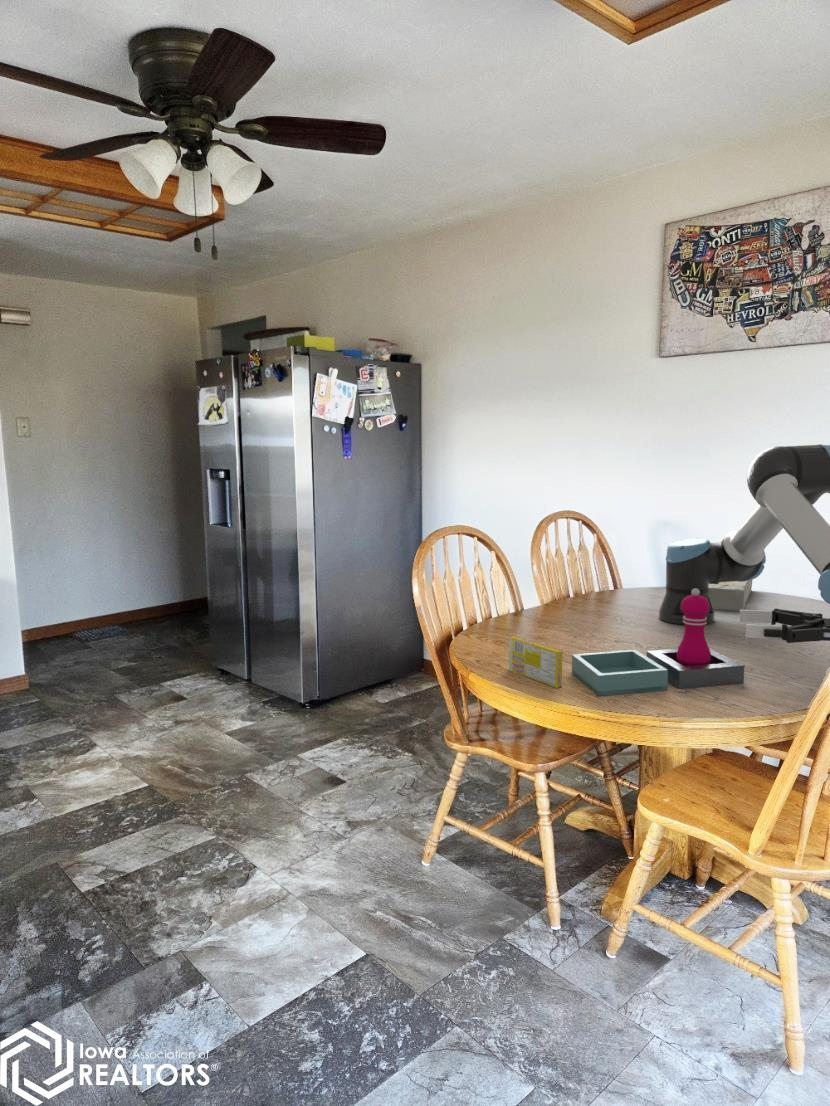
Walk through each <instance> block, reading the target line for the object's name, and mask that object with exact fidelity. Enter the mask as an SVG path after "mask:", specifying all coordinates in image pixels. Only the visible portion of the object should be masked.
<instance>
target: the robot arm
mask: <svg viewBox="0 0 830 1106" xmlns="http://www.w3.org/2000/svg"><path fill="white" fill-rule="evenodd" d="M746 481H747V483H746V484H747V487H748V490H749V493H750V495H751V497H752V498H753V499H754V500H755V502H756V503H757V504H758V505H757V506H756V507H755V509H753V511H751V513H750V515H749V516H747V518H746V519H745V520H744V522H743V523H742V524H741V525H740V527H739V528H738V529H737V530H733V531H730V532H729V533H727V534H726V535H725V537H723V539H722V540H721V541H720V542H710V540H709V539H708V538H705V537H704V538H703V537H695V538H692V537H691V538H683V539H679V540H675V541H673V542H671V543H670V544H669V545H668V546H667V549H666V555H665V556H666V557H665V561H666V565H665V566H666V567H665V568H666V569H665V570H666V573H665V594H664V596H663V600H662V602H661V604H660V608H659V611H658V618H659V620H661V621H663V622H665V623H669V624H674V625H681V626H683V625H684V626H685V623H683V616H685V615H684V613H683V612H682V610H681V603H682V600H683V599H684V598H685V597H687V596H689V595H692V593H691V591H692V590H693V589H694V588H697V589H699V591H700V594H699V595H700V596H703V597H705V598H706V599H707V600H708V602H709V605H710V610H709V612H708V614H707V615H706V616H705V617H707V620H706V622H707V624H712V623H713V622H714V621H715V611H714V609H713V608H712V605H711V601H710V598H709V595H708V587H709V583H715V582H732V581H738V582H743V581H748V580H752V581H753V580H754V579H757V578H758V577H759V576H760V575H761V574H762V573H763V572H764V568H765V565H764V564H766V562H767V561H766V553H765V549H766V548H767V547H768V546H769V544H770V543H771V542H772V541H773V540H774V539H775V538H776V537H777V536H778V534H779V533H781V531H782V530H783V529H784V531H785V532H786V533H787V534H788V536H789V537H790V539H791V540H792V541H793V542H794V543H795V545H796V546H797V548H798V549H799V550H800V551H801V552H802V554H803V555H804V556H805V558H807V560H808V561H809V562H810V563H811V565H812V566H813V567H814V569H815V570H816V571H817V572H818V574H819V575H820V576H819V577H818V581H817V588H818V590H819V591H820V594H819V595H820V596H821V598H822V599H823V601H824V602H826V603H827V604H829V605H830V524H829V523H828V522H827V520H825V518H824V517H823V516H822V515H821V514H820V512H819V511H818V510H817V509H816V508H815V507H814V504H815V503H816V502H817V501H818V500H819V499H820V498H821V497H822V496H823V495H824V494H830V444H813V445H811V444H809V445H807V444H806V445H790V446H788V445H787V446H783V445H781V446H773V447H770V448H767V449H764V450H763V451H761V452H759V454H757V455H756V456H755V458H753V460H752V461H751V463H750V465H749V467H748V469H747V474H746ZM739 622H740V623H746V624H745V638H750V639H751V638H753V639H767V640H768V639H771V640H782V641H785V642H786V643H787V644H793V643H794V644H795V643H806V642H809V643H810V642H822V641H824V642H830V617H829V618H825V617H823V614H822V613H820V612H819V613H812V612H803V611H797V610H796V611H795V610H789V609H780V608H774V609H773V610H759V609H758V610H756V609H743V610H740V611H739ZM751 623H753V624H751ZM707 624H706V625H707ZM777 624H781V625H777Z"/></svg>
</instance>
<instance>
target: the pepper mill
mask: <svg viewBox="0 0 830 1106" xmlns="http://www.w3.org/2000/svg"><path fill="white" fill-rule="evenodd" d="M691 593H692V595H689V596H687V597H685V598H684V599H683V600H682V603H681V610H682V612H683V613H684V615H685V616H683V623H685V625H684V632H683V633H684V634H683V637H682V639H681V641H680V643H679V646H678V648H677V649H678V650H677V659H678V661H679V662H680V663H681V665H683V666H696V665H708V664H709V662H710V661H711V653H710V649H709V648H710V647H709V645H708V643H707V640H706V636H705V627H706V625H707V622H706V620H707V617H705V616H706V615H707V614H708V612H709V610H710V605H709V602H708V600H707V599H706V598H705V597H703V596H700V595H699V594H700V591H699V589H697V588H694V589H693V590H692V591H691Z"/></svg>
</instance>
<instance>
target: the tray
mask: <svg viewBox="0 0 830 1106" xmlns="http://www.w3.org/2000/svg"><path fill="white" fill-rule="evenodd" d="M571 674H572V675H573V676H575V677H576V678H577V679H578V680H579V681H580V682H581V683H583V684H584V685H585V686H586V687H587V688H588V689H590V690H591V691H592V692H593V693H594V694H596V696H598V697H605V696H606V697H607V696H616V695H617V696H619V695H627V694H628V695H629V694H639V693H651V692H653V693H654V692H662V691H663V692H664V691H668V670H667V669H665V668H664V667H662V666H661V665H659V664H657V663H656V662H654V661H653V660H651V659H649V658H648V657H647V655H644V654H643V653H641V652H640V651H638V650H637V649H625V650H611V651H600V652H586V653H574V654H571Z"/></svg>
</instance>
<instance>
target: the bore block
mask: <svg viewBox="0 0 830 1106" xmlns="http://www.w3.org/2000/svg"><path fill="white" fill-rule="evenodd" d="M709 649H710V653H711V661H710V662H709V664H708V665H696V666H683V665H681V663H680V662H679V661H678V659H677V650H678V648H669V649H658V650H657V649H656V650H646V657H648V658H649V659H651V660H653V661H654V662H656V663H657V664H659V665H661V666H662V667H664V668H665V669H667V670H668V681H667V683H669V684H671V685H672V686H673V687H675V688H676V689H679V690H682V689H690V688H691V689H692V688H695V689H696V688H703V687H704V688H705V687H717V686H726V685H727V686H728V685H739V684H744V682H745V664H743V663H741V662H739V661H736V660H734V659H732V658H730V657H729V656H726V655H724V654H722V653H721V652H718V651H716V650H714V649H712V648H710V647H709Z"/></svg>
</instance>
